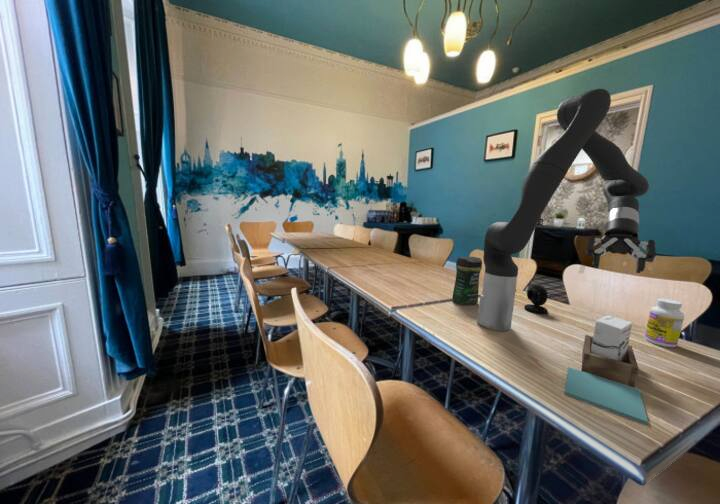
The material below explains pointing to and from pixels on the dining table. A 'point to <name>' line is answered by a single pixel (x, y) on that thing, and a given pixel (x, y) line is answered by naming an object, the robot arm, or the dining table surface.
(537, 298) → the webcam
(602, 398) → the teal mat
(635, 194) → the robot arm
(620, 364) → the walnut case
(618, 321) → the ink box
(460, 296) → the coffee jar
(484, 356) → the dining table surface
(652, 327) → the supplement bottle
